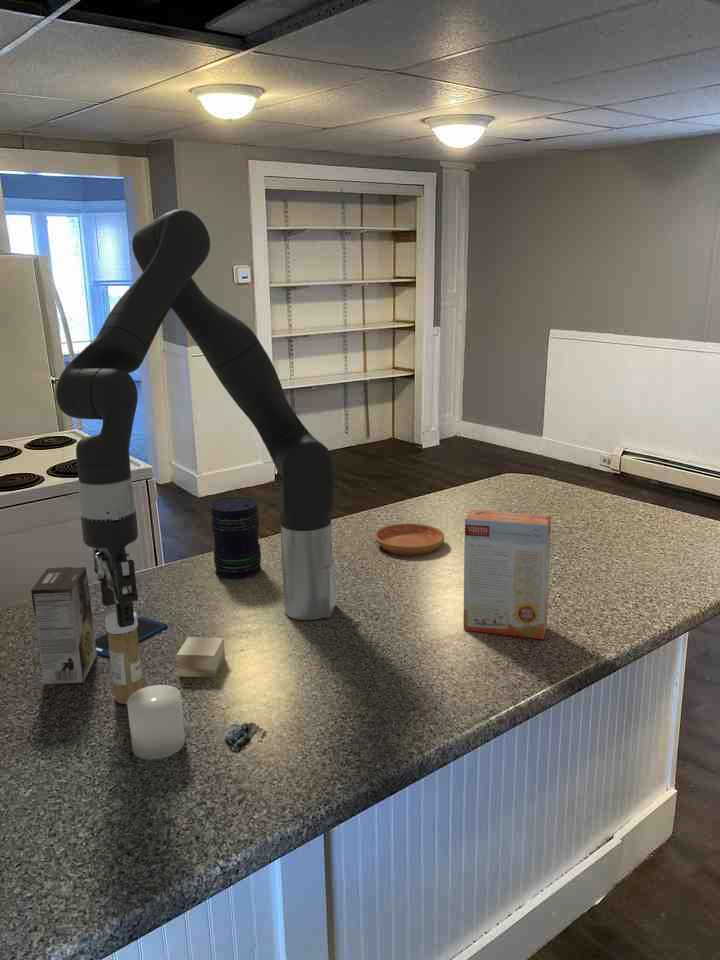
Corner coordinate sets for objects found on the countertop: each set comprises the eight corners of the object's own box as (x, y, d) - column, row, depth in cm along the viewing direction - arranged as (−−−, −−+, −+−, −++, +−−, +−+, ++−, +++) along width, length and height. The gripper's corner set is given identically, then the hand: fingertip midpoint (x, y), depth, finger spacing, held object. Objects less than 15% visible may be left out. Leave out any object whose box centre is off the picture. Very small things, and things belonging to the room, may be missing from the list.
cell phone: (79, 650, 134) (79, 646, 134) (141, 619, 145) (141, 615, 145) (109, 660, 130) (108, 656, 130) (170, 628, 142) (169, 624, 141)
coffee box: (58, 657, 131) (46, 567, 127) (98, 655, 131) (87, 565, 127) (42, 685, 122) (28, 589, 118) (84, 683, 123) (72, 587, 118)
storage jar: (205, 576, 164) (200, 508, 160) (230, 560, 173) (225, 495, 169) (247, 582, 160) (242, 513, 157) (270, 565, 169) (266, 499, 165)
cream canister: (192, 731, 109) (188, 686, 108) (174, 761, 103) (169, 714, 101) (144, 727, 110) (139, 683, 109) (123, 757, 104) (118, 711, 102)
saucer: (456, 541, 182) (456, 529, 182) (423, 563, 170) (423, 550, 169) (396, 530, 191) (396, 519, 190) (361, 550, 178) (361, 538, 177)
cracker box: (547, 626, 139) (552, 514, 133) (543, 641, 133) (549, 525, 128) (469, 616, 143) (471, 507, 138) (462, 630, 138) (464, 517, 132)
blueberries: (268, 726, 111) (268, 714, 110) (264, 761, 103) (263, 748, 103) (220, 728, 111) (220, 716, 110) (212, 763, 103) (211, 750, 103)
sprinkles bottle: (149, 699, 118) (141, 617, 114) (119, 708, 115) (109, 625, 112) (139, 686, 121) (131, 606, 118) (109, 695, 119) (100, 613, 115)
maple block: (225, 659, 129) (223, 637, 128) (215, 678, 124) (214, 655, 123) (189, 659, 130) (187, 637, 129) (178, 677, 124) (176, 654, 123)
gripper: (69, 501, 115) (80, 603, 119) (93, 527, 103) (104, 639, 107) (121, 493, 118) (130, 592, 123) (149, 517, 107) (158, 626, 111)
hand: (118, 614), depth 115 cm, fingers open, 8 cm apart
